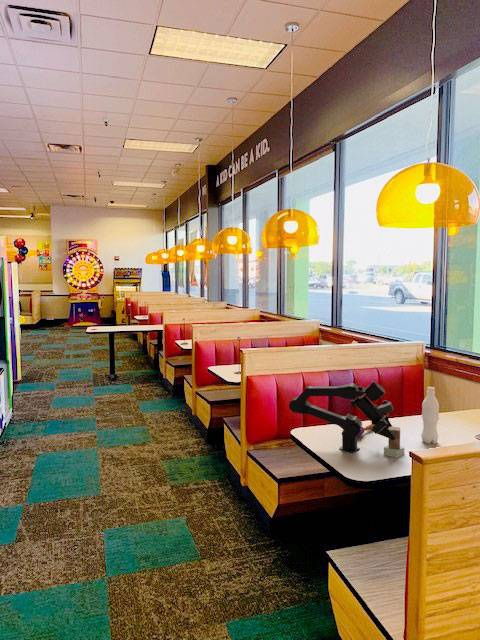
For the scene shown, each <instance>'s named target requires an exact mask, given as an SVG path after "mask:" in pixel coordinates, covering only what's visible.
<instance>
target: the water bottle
mask: <svg viewBox="0 0 480 640" xmlns="http://www.w3.org/2000/svg"><path fill="white" fill-rule="evenodd" d="M435 389H436V388H435V386H427V390H426V397H425V398H424V399H423V401H422V403H421V408H422V409H421V419H422V422H423V423H422V424H423V428H422V431H421V433H420V435H421V436H420V437H421V441H422V442H423V443H424V442H425V444H428V445H429V444H436V443H437V442H438V441H439V433H438V429H437V428H438V427H437V426H438V425H437V424H438V422H439V420H440V412H439V411H440V404H439V401H438V399H437V397H436V391H435Z"/></svg>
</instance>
